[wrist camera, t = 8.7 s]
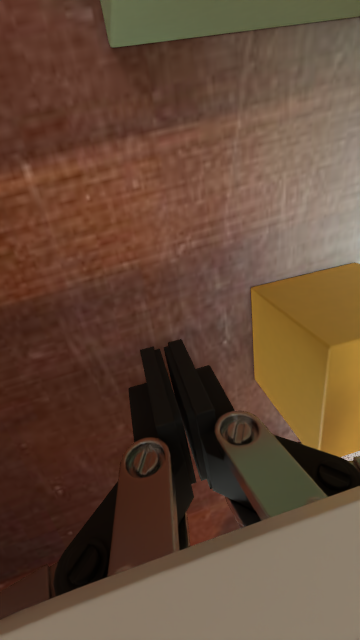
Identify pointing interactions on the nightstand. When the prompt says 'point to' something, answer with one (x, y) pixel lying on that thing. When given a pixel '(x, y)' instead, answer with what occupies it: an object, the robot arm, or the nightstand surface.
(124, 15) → the stand
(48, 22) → the nightstand surface
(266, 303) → the mustard block
